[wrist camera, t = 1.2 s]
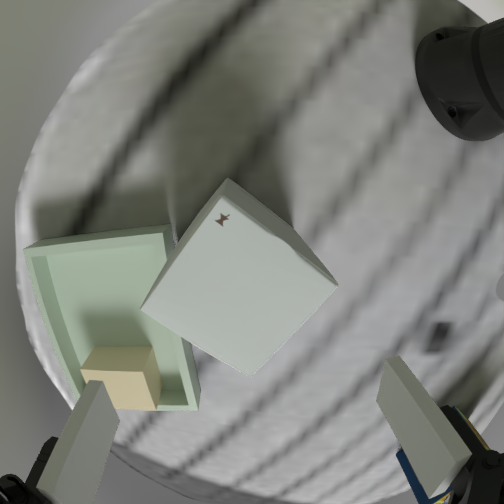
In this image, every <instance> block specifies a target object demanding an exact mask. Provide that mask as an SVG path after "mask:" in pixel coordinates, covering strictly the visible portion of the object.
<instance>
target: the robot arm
mask: <svg viewBox="0 0 504 504" xmlns="http://www.w3.org/2000/svg"><path fill="white" fill-rule="evenodd" d="M416 73H417V78H418V83H419V86H420V89H421V92H422V95H423V97H424V99H425V101H426V103H427V105H428V107H429V109H430V110H431V112H432V113H433V115H434V116H435V118H436V119H437V120H438V121H439V123H440V124H441V125H442V126H443V127H444V128H445V129H446V130H448V131H449V132H450V133H452V134H453V135H455V136H456V137H458V138H461V139H463V140H468V141H485V140H489V139H492V138H494V137H496V136H498V135H500V134H501V133H503V132H504V18H502V19H499V20H496V21H494V22H491V23H489V24H486V25H484V26H481V27H443V28H440V29H437V30H435V31H433V32H432V33H430V34H428V35H427V36H425V37H424V39H423V40H422V41H421V43H420V45H419V47H418V50H417V55H416ZM376 401H377V403H378V405H379V406H380V408H381V410H382V412H383V414H384V415H385V417H386V419H387V421H388V423H389V425H390V426H391V428H392V430H393V432H394V434H395V435H396V437H397V439H398V441H399V443H400V445H401V447H402V448H403V450H404V452H405V454H406V456H407V458H408V460H409V462H410V463H411V465H412V467H413V469H414V471H415V473H416V475H417V477H418V479H419V481H420V482H421V484H422V486H423V488H424V490H425V492H426V494H427V496H428V498H429V499H430V498H433V497H435V496H437V495H439V494H441V493H443V492H445V491H446V489H447V488H448V487H449V486H450V485H451V487H452V489H453V490H452V491H451V493H450V494H449V495H448V496H447V497H446V499H445V501H444V502H445V503H446V502H447V501H448V500H449V501H448V504H504V453H502V454H500V453H498V452H497V451H494V450H486V449H485V447H484V446H483V445H482V444H481V442H480V441H479V440H478V438H477V437H476V436H475V434H474V433H473V432H472V430H471V429H470V428H469V426H467V424H466V422H465V421H464V420H463V418H462V417H461V416H460V415H459V413H458V412H457V411H456V410H454V409H453V408H451V407H450V406H448V405H446V406H444V407H441V408H439V407H438V406H437V404H436V403H435V402H434V400H433V399H432V398H431V396H430V395H429V394H428V392H427V391H426V390H425V388H424V387H423V386H422V384H421V383H420V382H419V381H418V379H417V378H416V377H415V375H414V374H413V373H412V371H411V370H410V369H409V368H408V366H407V365H406V364H405V362H404V361H403V360H402V359H401V357H400V356H397V357H392V358H388V359H385V364H384V369H383V374H382V378H381V383H380V387H379V391H378V395H377V400H376ZM119 422H120V419H119V417H118V415H117V413H116V411H115V408H114V406H113V404H112V402H111V399H110V397H109V394H108V392H107V390H106V387H105V385H104V382H103V381H99V380H89V381H88V383H87V385H86V387H85V388H84V390H83V392H82V394H81V396H80V398H79V400H78V401H77V403H76V405H75V407H74V409H73V411H72V413H71V415H70V417H69V419H68V421H67V423H66V425H65V427H64V429H63V431H62V433H61V435H60V437H59V438H56V437H51V438H50V439H49V440H47V441H46V442H45V443H44V445H43V447H42V449H41V451H40V454H39V455H38V457H37V461H35V463H34V465H33V467H32V469H31V471H30V474H29V476H28V478H27V480H26V482H25V483H24V482H23V481H22V480H21V479H20V478H19V477H18V476H16V475H13V474H7V475H4V476H2V477H1V478H0V504H93V503H94V499H95V496H96V492H97V489H98V486H99V483H100V479H101V476H102V473H103V469H104V467H105V464H106V460H107V457H108V454H109V451H110V448H111V445H112V442H113V439H114V436H115V434H116V431H117V428H118V425H119Z"/></svg>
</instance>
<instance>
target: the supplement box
mask: <svg viewBox="0 0 504 504" xmlns="http://www.w3.org/2000/svg"><path fill="white" fill-rule="evenodd" d="M337 287H338V283H337V281H336V280H335V279H334V277H333V276H332V275H331V273H330V272H329V271H328V270H327V268H326V267H325V266H324V265H323V263H322V262H321V261H320V260H319V259H318V257H317V256H316V255H315V254H314V253H313V251H312V250H311V249H310V248H309V247H308V245H307V244H306V243H305V242H304V241H303V239H302V238H301V237H300V236H299V235H298V233H297V232H296V231H295V230H294V229H293V227H291V226H290V225H289V224H288V223H286V222H285V221H284V220H283V219H281V218H280V217H279V216H278V215H276V214H275V213H274V212H273V211H271V210H270V209H269V208H268V207H266V206H265V205H264V204H262V203H261V202H260V201H259V200H257V199H256V198H255V197H253V196H252V195H251V194H250V193H248V192H247V191H246V190H244V189H243V188H242V187H240V186H239V185H238V184H236V183H235V182H234V181H232V180H231V179H230V178H226V179H225V180H224V181H223V183H222V184H221V185H220V186H219V188H218V189H217V190H216V191H215V193H214V194H213V195H212V196H211V198H210V199H209V200H208V202H207V203H206V204H205V205H204V207H203V208H202V209H201V211H200V212H199V213H198V215H197V216H196V217H195V219H194V220H193V221H192V223H191V224H190V226H189V227H188V228H187V230H186V231H185V233H184V234H183V236H182V237H181V239H180V240H179V242H178V244H177V245H176V247H175V248H174V250H173V251H172V253H171V255H170V256H169V258H168V260H167V261H166V263H165V265H164V267H163V268H162V270H161V272H160V273H159V275H158V277H157V279H156V280H155V282H154V284H153V286H152V287H151V289H150V291H149V293H148V294H147V296H146V298H145V300H144V302H143V303H142V305H141V307H140V310H141V311H143V312H144V313H146V314H147V315H149V316H150V317H152V318H153V319H155V320H156V321H158V322H159V323H161V324H162V325H164V326H165V327H167V328H168V329H170V330H171V331H173V332H175V333H176V334H178V335H179V336H181V337H182V338H184V339H186V340H187V341H189V342H190V343H192V344H193V345H195V346H197V347H198V348H200V349H202V350H203V351H205V352H207V353H208V354H210V355H212V356H213V357H215V358H217V359H218V360H220V361H222V362H224V363H225V364H227V365H229V366H231V367H233V368H234V369H236V370H238V371H240V372H241V373H243V374H245V375H247V376H248V377H252V376H253V375H254V373H256V372H257V371H258V370H259V369H260V368H261V367H262V366H263V365H264V364H265V363H266V362H267V361H268V360H269V359H270V358H271V357H272V356H273V355H274V354H275V353H276V352H277V350H278V349H279V348H280V347H281V346H282V345H283V344H284V343H285V342H286V341H287V340H288V339H289V338H290V337H291V336H292V335H293V334H294V333H295V332H296V331H297V330H298V329H299V328H300V327H301V326H302V325H303V324H304V322H305V321H306V320H307V319H308V318H309V317H310V316H311V315H312V314H313V313H314V312H315V311H316V310H317V309H318V308H319V307H320V305H321V304H322V303H323V302H324V301H325V300H326V299H327V298H328V297H329V295H330V294H331V293H332V292H333V291H334V290H335V289H336V288H337Z"/></svg>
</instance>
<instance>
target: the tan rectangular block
mask: <svg viewBox="0 0 504 504" xmlns="http://www.w3.org/2000/svg"><path fill="white" fill-rule="evenodd" d="M80 371H81V373H82V375H83V378H84V380H85V382H86V384H87V383H88V381H89V380H99V381H103V382H104V385H105V387H106V390H107V392H108V394H109V397H110V399H111V402H112V404H113V406H114V408H115V409H129V410H149V411H156V410H157V406H158V402H159V399H160V395H161V391H162V388H163V381H162V378H161V374H160V371H159V368H158V364H157V361H156V357H155V353H154V350H153V346H150V347H104V346H95V347H94V348H93V350H92V351H91V353H90V354H89V356H88V357H87V359H86V361H85V362H84V364H83V365H82V367H81V368H80Z"/></svg>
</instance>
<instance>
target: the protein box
mask: <svg viewBox="0 0 504 504" xmlns="http://www.w3.org/2000/svg"><path fill="white" fill-rule="evenodd" d="M453 409H454V410H456V411H457V412H458V413H459V415H460V416H461V417H462V418H463V420H464V421H465V422H466V424H467V426H469V428H470V429H471V430H472V432H473V433H474V434H475V436H476V437H477V438H478V440H479V441H480V442H481V444H482V445H483V446H484V447H485V449H486V450H490V448H489V447H488V445H487V444H486V442H485V441H484V440H483V439H482V437H481V436H480V434H479V433H478V431H477V430H476V429H475V428H474V426H473V425H472V424H471V422H470V421H469V420H468V419H467V418H466V417H465V416H464V414H463V413H462V412H461V411H460V410H459V409H458V408H457V407H456V406H454V407H453ZM396 457H397V459H398V461H399V463H400V465H401V467H402V469H403V471H404V473H405V475H406V477H407V480H408V482H409V484H410V486H411V488H412V490H413V492H414V495H415V497H416V499H417V501H418V503H419V504H448V501H449V500H448V501H447V502H446V503H445V502H444V501H445V499H446V497H447V496H448V495H449V494H450V493H451V491H452V490H453V489H452V487H451V485H450V486H449V487H448V488H447V489H446V491H445V492H443V493H441V494H439V495H437V496H435V497H433V498H430V499H429V498H428V496H427V494H426V492H425V490H424V488H423V486H422V484H421V482H420V481H419V479H418V477H417V475H416V473H415V471H414V469H413V467H412V465H411V463H410V462H409V460H408V458H407V456H406V454H405V452H404V450H403V449H402V450H401V451H400V452H398V453H397V454H396Z"/></svg>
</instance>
